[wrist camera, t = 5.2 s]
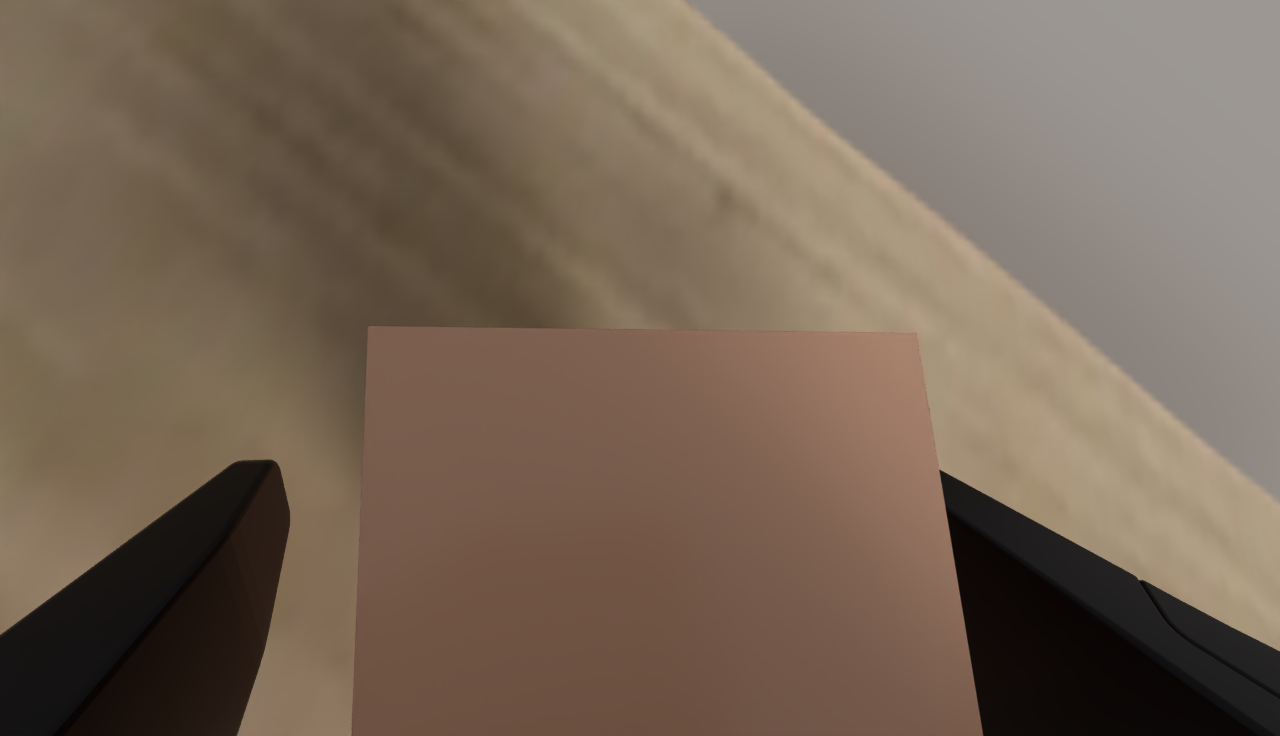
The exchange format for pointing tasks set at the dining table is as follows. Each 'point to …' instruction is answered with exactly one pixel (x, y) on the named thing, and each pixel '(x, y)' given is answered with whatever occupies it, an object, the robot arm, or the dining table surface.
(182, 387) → the dining table surface
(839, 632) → the terracotta block
